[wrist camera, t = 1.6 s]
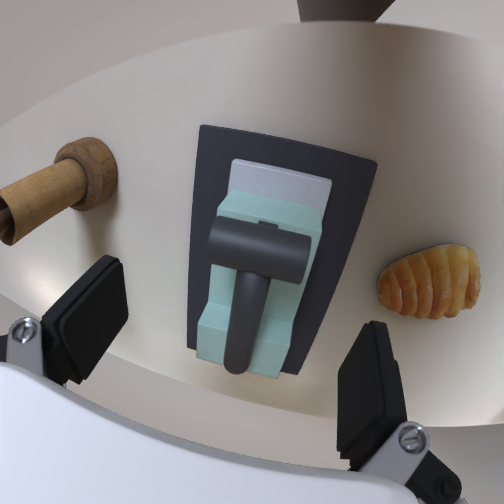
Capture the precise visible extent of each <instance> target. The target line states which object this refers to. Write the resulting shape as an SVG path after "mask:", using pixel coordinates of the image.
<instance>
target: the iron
mask: <svg viewBox="0 0 504 504" xmlns="http://www.w3.org/2000/svg"><path fill="white" fill-rule="evenodd" d="M331 187H332V181H331V179H327V178H323V177H319V176H315V175H311V174H307V173H302V172H298V171H294V170H289V169H285V168H280V167H276V166H271V165H266V164H261V163H256V162H251V161H246V160H241V159H234V160H233V161H232V164H231V171H230V178H229V186H228V193H227V197H226V198H225V199H224V200H223V202H222V203H221V204H220V205H219V207H218V208H217V217H216V218H215V220H214V222H213V224H212V226H211V229H210V232H209V236H208V240H207V246H206V261H207V262H208V263H209V264H212V265H211V276H210V287H209V298H208V303H207V305H206V307H205V309H204V311H203V313H202V315H201V318H200V320H199V322H198V330H197V355H196V357H197V358H199V359H202V360H206V361H209V362H213V363H216V364H220V365H224V367H225V369H226V370H227V371H228V372H230V373H232V374H242V373H244V372H245V371H247V372H251V373H255V374H260V375H264V376H269V377H273V378H278V375H279V373H280V370H281V368H282V365H283V363H284V360H285V358H286V355H287V352H288V350H289V347H290V342H291V334H292V326H293V321H294V318H295V315H296V312H297V309H298V306H299V303H300V300H301V297H302V294H303V291H304V288H305V285H306V282H307V279H308V276H309V273H310V269H311V266H312V263H313V260H314V257H315V254H316V250H317V247H318V244H319V240H320V237H321V234H322V219H323V216H324V212H325V209H326V205H327V201H328V198H329V194H330V190H331Z"/></svg>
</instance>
